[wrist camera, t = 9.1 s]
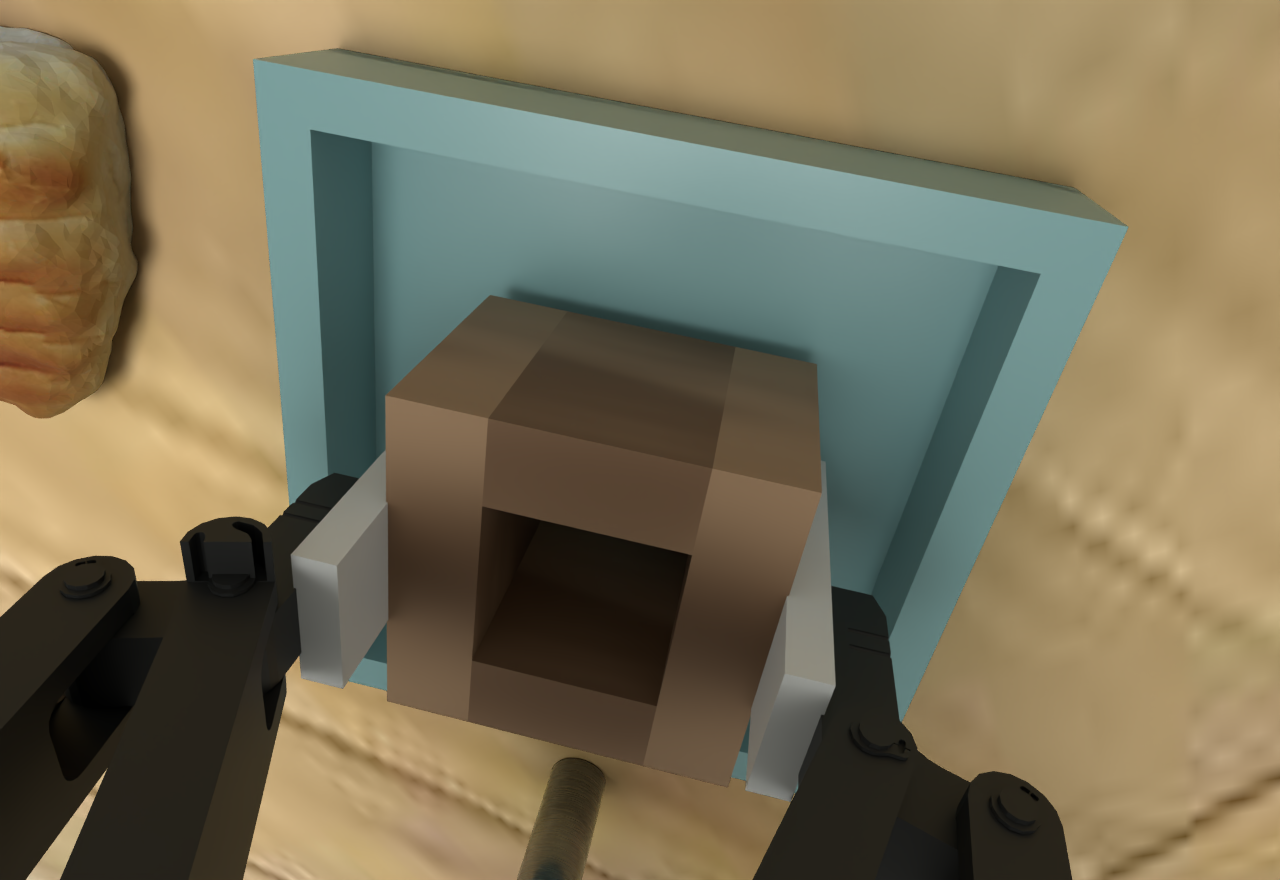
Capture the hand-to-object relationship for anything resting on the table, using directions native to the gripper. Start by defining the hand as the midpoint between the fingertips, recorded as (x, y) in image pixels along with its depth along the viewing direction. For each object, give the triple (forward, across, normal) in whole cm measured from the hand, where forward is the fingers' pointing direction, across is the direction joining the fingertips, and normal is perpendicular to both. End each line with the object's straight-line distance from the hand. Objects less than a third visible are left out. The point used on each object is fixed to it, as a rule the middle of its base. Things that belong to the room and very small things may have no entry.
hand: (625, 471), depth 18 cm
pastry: (+2, +16, -3) cm, 16 cm away
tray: (+2, 0, 0) cm, 2 cm away
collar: (0, 0, 0) cm, 0 cm away
